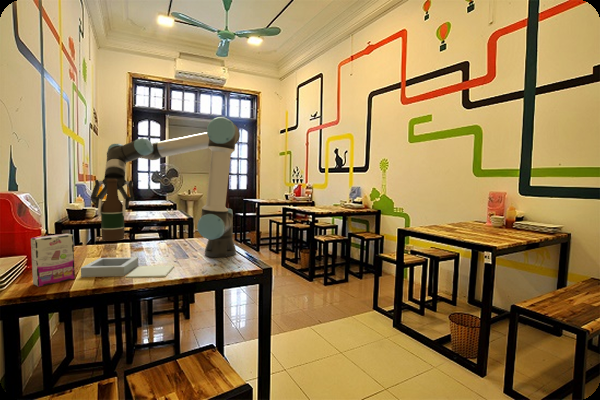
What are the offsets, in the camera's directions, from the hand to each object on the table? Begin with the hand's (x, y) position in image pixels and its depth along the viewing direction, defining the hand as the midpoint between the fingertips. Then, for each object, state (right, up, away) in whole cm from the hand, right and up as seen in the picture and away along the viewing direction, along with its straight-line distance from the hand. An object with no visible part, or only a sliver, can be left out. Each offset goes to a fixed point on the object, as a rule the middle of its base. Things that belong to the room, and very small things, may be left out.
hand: (111, 213), depth 120 cm
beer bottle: (-2, -11, +4) cm, 11 cm away
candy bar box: (-15, -24, -9) cm, 30 cm away
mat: (+13, -23, +4) cm, 27 cm away
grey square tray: (-3, -23, +5) cm, 24 cm away
